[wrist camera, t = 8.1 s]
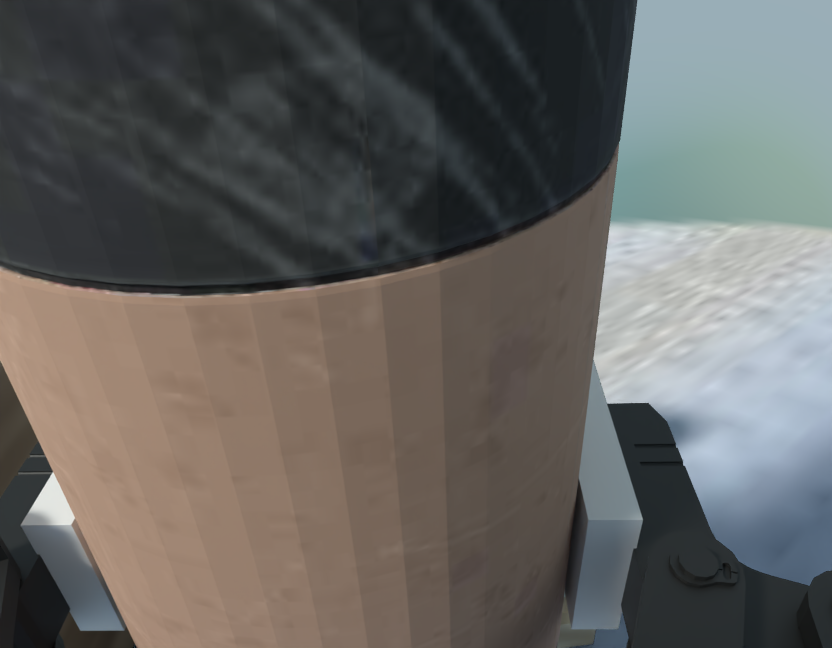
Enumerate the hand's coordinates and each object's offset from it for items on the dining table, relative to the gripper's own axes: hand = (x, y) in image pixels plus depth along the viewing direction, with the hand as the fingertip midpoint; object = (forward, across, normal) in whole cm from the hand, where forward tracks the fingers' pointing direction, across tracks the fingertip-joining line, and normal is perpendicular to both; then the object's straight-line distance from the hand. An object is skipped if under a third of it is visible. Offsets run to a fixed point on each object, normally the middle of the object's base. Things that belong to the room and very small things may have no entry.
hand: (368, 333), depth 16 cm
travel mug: (-5, 0, -11) cm, 12 cm away
